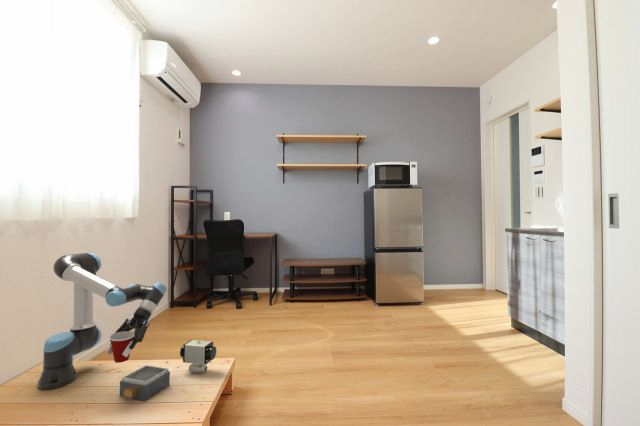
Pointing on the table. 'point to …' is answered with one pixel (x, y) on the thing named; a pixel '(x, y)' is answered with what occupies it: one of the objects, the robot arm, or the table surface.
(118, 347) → the plastic cup
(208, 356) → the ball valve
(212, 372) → the table surface
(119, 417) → the table surface
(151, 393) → the square tray with tab
